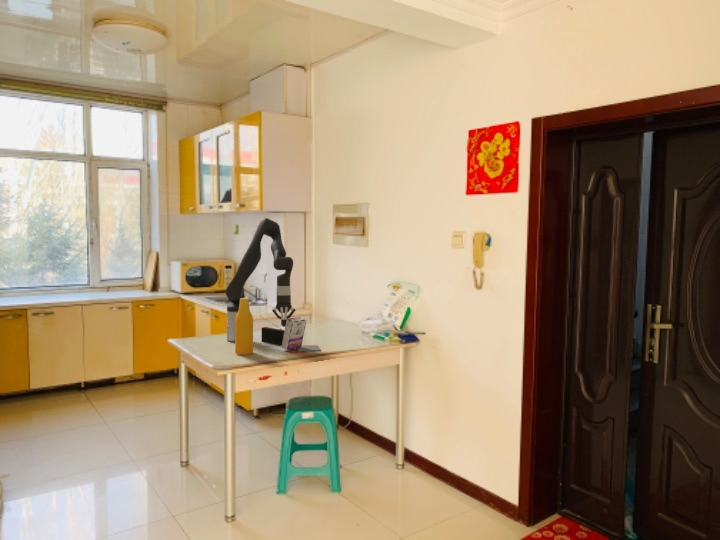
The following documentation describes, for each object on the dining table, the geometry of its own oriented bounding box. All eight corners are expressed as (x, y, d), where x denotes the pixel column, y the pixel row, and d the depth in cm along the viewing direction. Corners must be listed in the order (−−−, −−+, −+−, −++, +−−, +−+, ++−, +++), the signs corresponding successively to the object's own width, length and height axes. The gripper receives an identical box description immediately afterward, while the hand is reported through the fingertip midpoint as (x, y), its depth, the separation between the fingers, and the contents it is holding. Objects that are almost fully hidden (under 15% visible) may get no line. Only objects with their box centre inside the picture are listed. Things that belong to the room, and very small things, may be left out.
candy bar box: (295, 343, 292) (300, 316, 288) (301, 347, 289) (307, 319, 285) (280, 346, 283) (286, 318, 279) (287, 350, 280) (293, 321, 276)
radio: (286, 345, 296) (286, 318, 295) (282, 346, 294) (283, 319, 293) (262, 340, 307) (262, 315, 306) (259, 341, 304) (259, 316, 303)
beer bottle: (231, 353, 274) (231, 298, 272) (244, 350, 282) (244, 296, 280) (243, 356, 269) (243, 300, 267) (256, 352, 277) (257, 298, 274)
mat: (298, 351, 281) (298, 350, 281) (296, 346, 292) (296, 345, 292) (320, 351, 283) (320, 349, 283) (317, 346, 295) (317, 345, 295)
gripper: (271, 295, 276) (271, 327, 276) (296, 294, 278) (296, 327, 279) (270, 294, 283) (271, 326, 284) (295, 293, 286) (295, 325, 286)
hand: (283, 326), depth 281 cm, fingers closed
